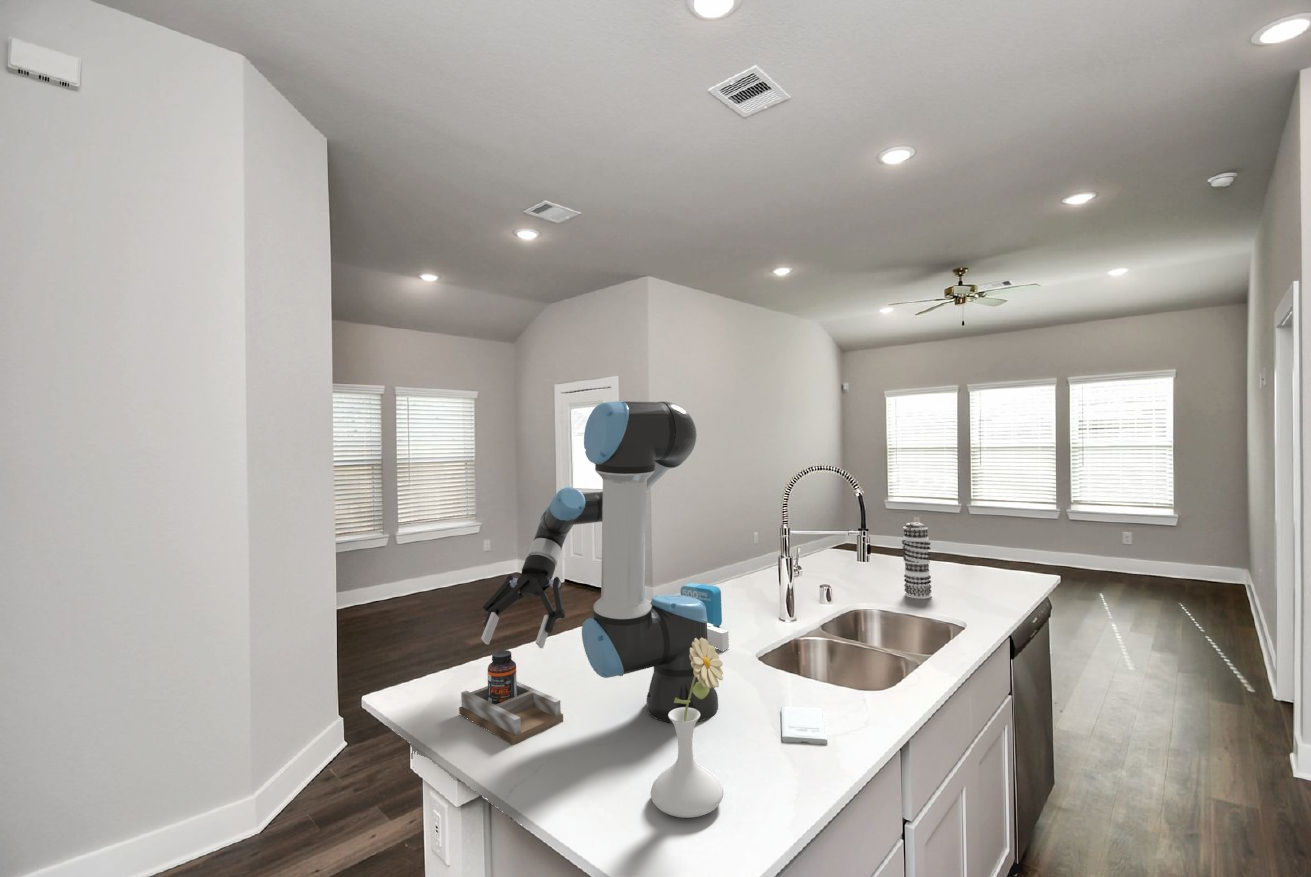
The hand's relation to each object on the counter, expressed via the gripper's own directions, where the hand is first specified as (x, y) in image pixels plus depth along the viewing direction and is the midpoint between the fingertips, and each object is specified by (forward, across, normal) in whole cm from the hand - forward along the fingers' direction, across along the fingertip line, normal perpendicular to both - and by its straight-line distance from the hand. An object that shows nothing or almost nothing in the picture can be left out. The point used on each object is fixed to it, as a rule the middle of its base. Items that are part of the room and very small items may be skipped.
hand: (511, 643), depth 131 cm
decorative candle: (-66, -95, -85) cm, 144 cm away
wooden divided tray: (+14, -3, -4) cm, 15 cm away
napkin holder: (-22, -36, -42) cm, 59 cm away
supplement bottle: (+12, -1, -4) cm, 13 cm away
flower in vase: (+27, -46, +8) cm, 55 cm away
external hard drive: (+8, -62, -12) cm, 64 cm away
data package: (-33, -29, -52) cm, 69 cm away
